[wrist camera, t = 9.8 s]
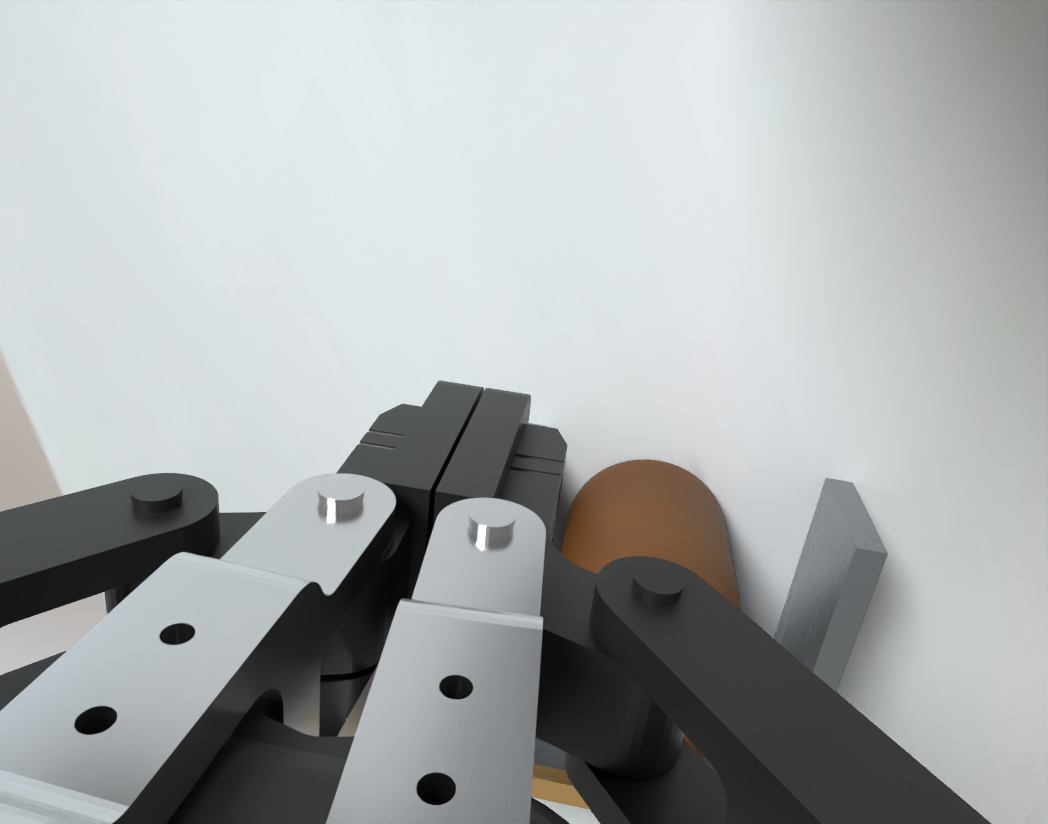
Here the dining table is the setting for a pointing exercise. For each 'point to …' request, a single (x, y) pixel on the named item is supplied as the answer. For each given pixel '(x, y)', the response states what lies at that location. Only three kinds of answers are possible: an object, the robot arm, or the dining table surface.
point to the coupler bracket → (792, 611)
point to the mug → (651, 524)
